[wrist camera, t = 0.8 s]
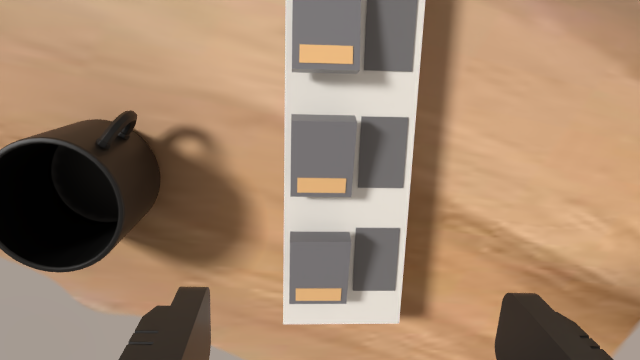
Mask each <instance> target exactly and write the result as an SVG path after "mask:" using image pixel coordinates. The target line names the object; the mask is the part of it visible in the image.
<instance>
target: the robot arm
mask: <svg viewBox="0 0 640 360" xmlns="http://www.w3.org/2000/svg"><path fill="white" fill-rule="evenodd" d="M210 345H211V326H210V290H209V287H179V289H178V291H177V293H176V295H175V297H174V300H173V302H172V304H171V306H156V307H155V308H153V309H152V310H151V311H150V312H148V313H147V314H146V315H144V316H143V317H142V319H141V320H140V322H139V324H138V326H137V328H136V330H135V333H133V335H132V337H131V338H130V340H129V344H128V345H127V346H126V348H125V349H124V351H123V353H122V355H121V356H120V358H119V360H209V355H210ZM495 354H496V359H497V360H613V359H612V358H611V357H610V356H609V355H608V354H607V353H606V352H605V351H604V350H603V349H600V346H599V345H598V344H597V343H596V342H595V341H594V340H593V339H592V338H589V336H588V335H587V334H586V333H585V332H584V331H583V330H582V329H581V328H580V327H579V326H578V325H577V324H576V323H575V322H573V321H571V320H570V319H568V318H566V317H565V316H563V315H561V314H560V313H558V312H555V311H554V310H553V309H552V308H551V307H550V306H549V305H548V304H547V303H546V302H545V301H544V300H543V299H542V298H541V297H540V296H539V295H537V294H535V293H507V294H506V295H505V296H504V298H503V301H502V306H501V312H500V317H499V323H498V328H497V334H496V339H495Z"/></svg>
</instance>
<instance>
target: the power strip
mask: <svg viewBox="0 0 640 360" xmlns="http://www.w3.org/2000/svg"><path fill="white" fill-rule="evenodd" d="M292 11H293V0H286V16H285V150H284V283H283V324H388V323H399V319H400V307H401V294H402V282H403V270H404V257H405V245H406V233H407V220H408V208H409V196H410V183H411V171H412V159H413V146H414V134H415V122H416V109H417V97H418V85H419V72H420V60H421V48H422V36H423V23H424V11H425V0H361V35H360V71H359V72H358V73H357V74H335V73H297V72H292ZM291 114H310V115H355V117H356V120H357V132H356V145H355V158H354V170H353V183H352V195H351V197H290V191H291ZM290 231H295V232H350V237H351V254H350V266H349V278H348V290H347V302H346V304H289V279H290Z"/></svg>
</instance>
